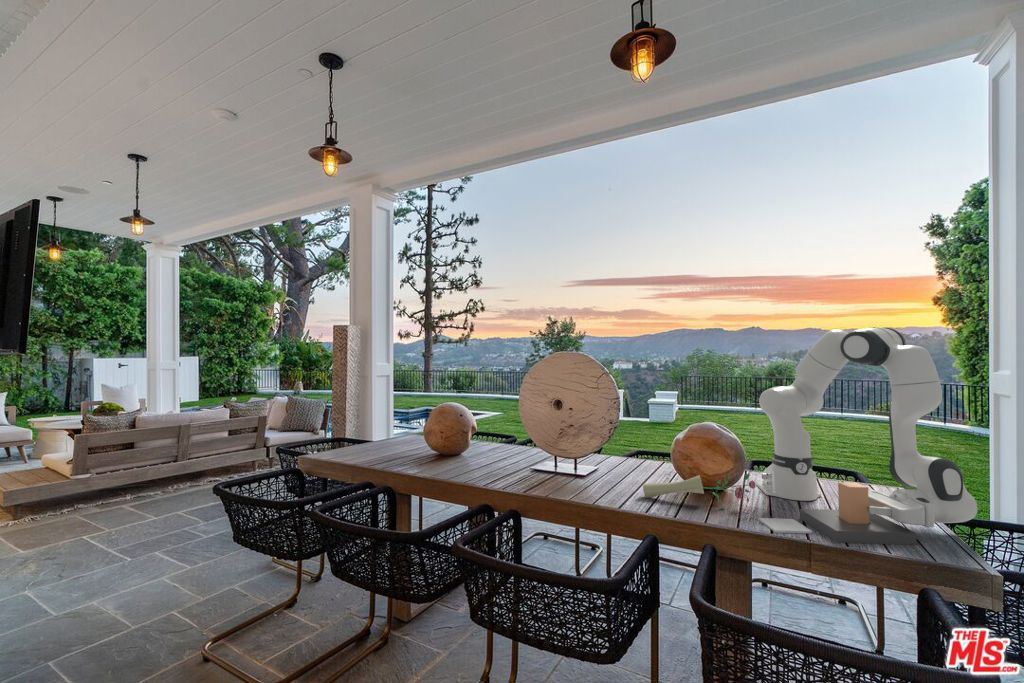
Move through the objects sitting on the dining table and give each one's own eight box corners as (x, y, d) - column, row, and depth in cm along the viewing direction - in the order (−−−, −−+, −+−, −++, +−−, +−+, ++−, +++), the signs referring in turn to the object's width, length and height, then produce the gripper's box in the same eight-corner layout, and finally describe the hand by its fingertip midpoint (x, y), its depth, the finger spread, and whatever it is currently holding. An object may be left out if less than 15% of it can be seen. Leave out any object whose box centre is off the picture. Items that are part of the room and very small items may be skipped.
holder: (799, 518, 141) (799, 508, 141) (868, 520, 140) (868, 510, 140) (837, 542, 123) (836, 530, 123) (916, 544, 122) (916, 533, 122)
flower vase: (652, 517, 164) (761, 507, 151) (646, 516, 154) (761, 506, 141) (646, 482, 169) (750, 470, 156) (639, 480, 159) (751, 466, 146)
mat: (758, 520, 140) (758, 518, 140) (793, 520, 139) (793, 518, 139) (775, 532, 130) (775, 530, 130) (812, 533, 129) (812, 531, 129)
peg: (839, 527, 134) (838, 482, 135) (857, 527, 134) (856, 482, 134) (850, 534, 129) (849, 487, 130) (869, 534, 129) (868, 487, 129)
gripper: (881, 484, 141) (833, 483, 142) (938, 505, 121) (882, 504, 122) (881, 505, 141) (834, 503, 142) (938, 530, 121) (883, 528, 122)
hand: (856, 504), depth 132 cm, fingers open, 8 cm apart
